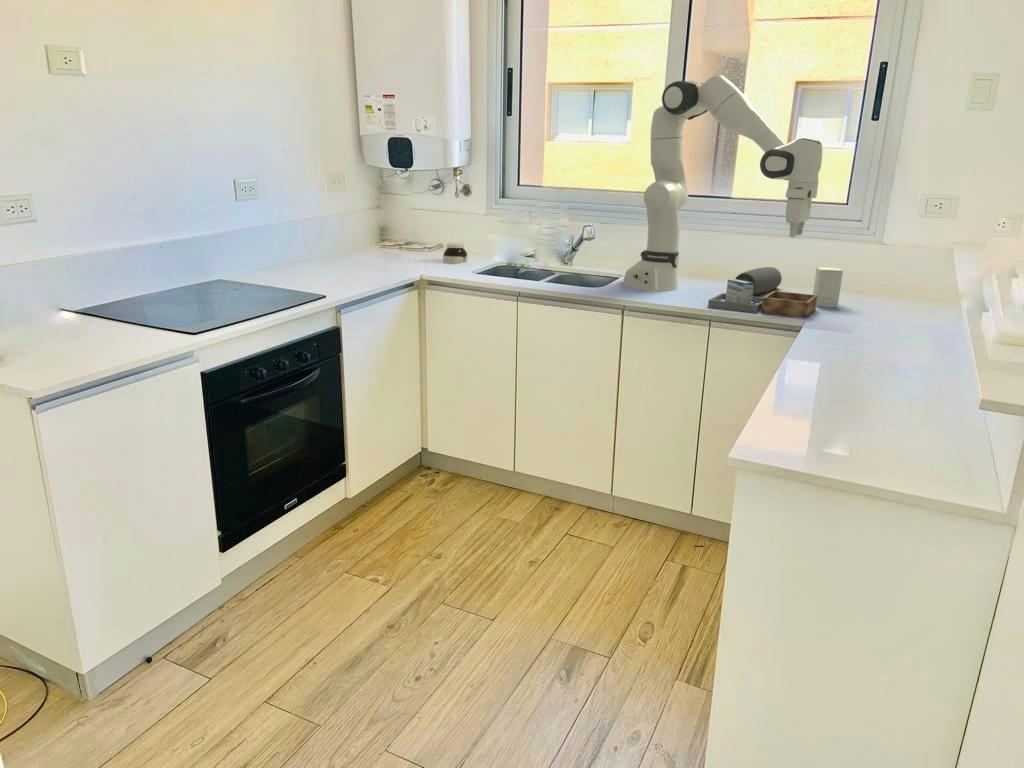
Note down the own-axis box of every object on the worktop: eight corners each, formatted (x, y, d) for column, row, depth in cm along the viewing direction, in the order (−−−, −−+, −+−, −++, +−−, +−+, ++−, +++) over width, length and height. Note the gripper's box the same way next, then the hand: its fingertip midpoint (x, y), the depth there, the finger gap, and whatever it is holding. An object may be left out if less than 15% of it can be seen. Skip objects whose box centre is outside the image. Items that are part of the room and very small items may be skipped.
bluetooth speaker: (757, 290, 285) (760, 264, 282) (781, 294, 279) (784, 267, 276) (730, 298, 268) (733, 270, 265) (755, 301, 262) (758, 273, 259)
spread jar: (455, 274, 305) (455, 245, 301) (433, 271, 311) (433, 243, 307) (472, 271, 314) (473, 243, 311) (451, 268, 320) (451, 240, 317)
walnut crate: (761, 312, 243) (762, 297, 242) (772, 305, 256) (773, 290, 255) (806, 318, 236) (808, 302, 235) (815, 310, 250) (817, 295, 248)
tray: (707, 307, 250) (708, 299, 249) (721, 300, 263) (722, 293, 263) (756, 313, 242) (757, 305, 242) (768, 305, 256) (768, 298, 255)
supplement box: (837, 308, 254) (843, 270, 251) (814, 306, 256) (820, 269, 252) (833, 304, 261) (839, 267, 258) (811, 302, 263) (816, 266, 259)
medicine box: (724, 304, 255) (727, 279, 253) (733, 303, 257) (736, 278, 255) (741, 309, 249) (744, 283, 246) (751, 308, 251) (754, 282, 248)
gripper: (798, 190, 246) (792, 232, 250) (784, 192, 229) (778, 237, 234) (818, 191, 243) (811, 234, 247) (806, 193, 226) (799, 239, 231)
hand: (795, 236), depth 240 cm, fingers open, 8 cm apart
